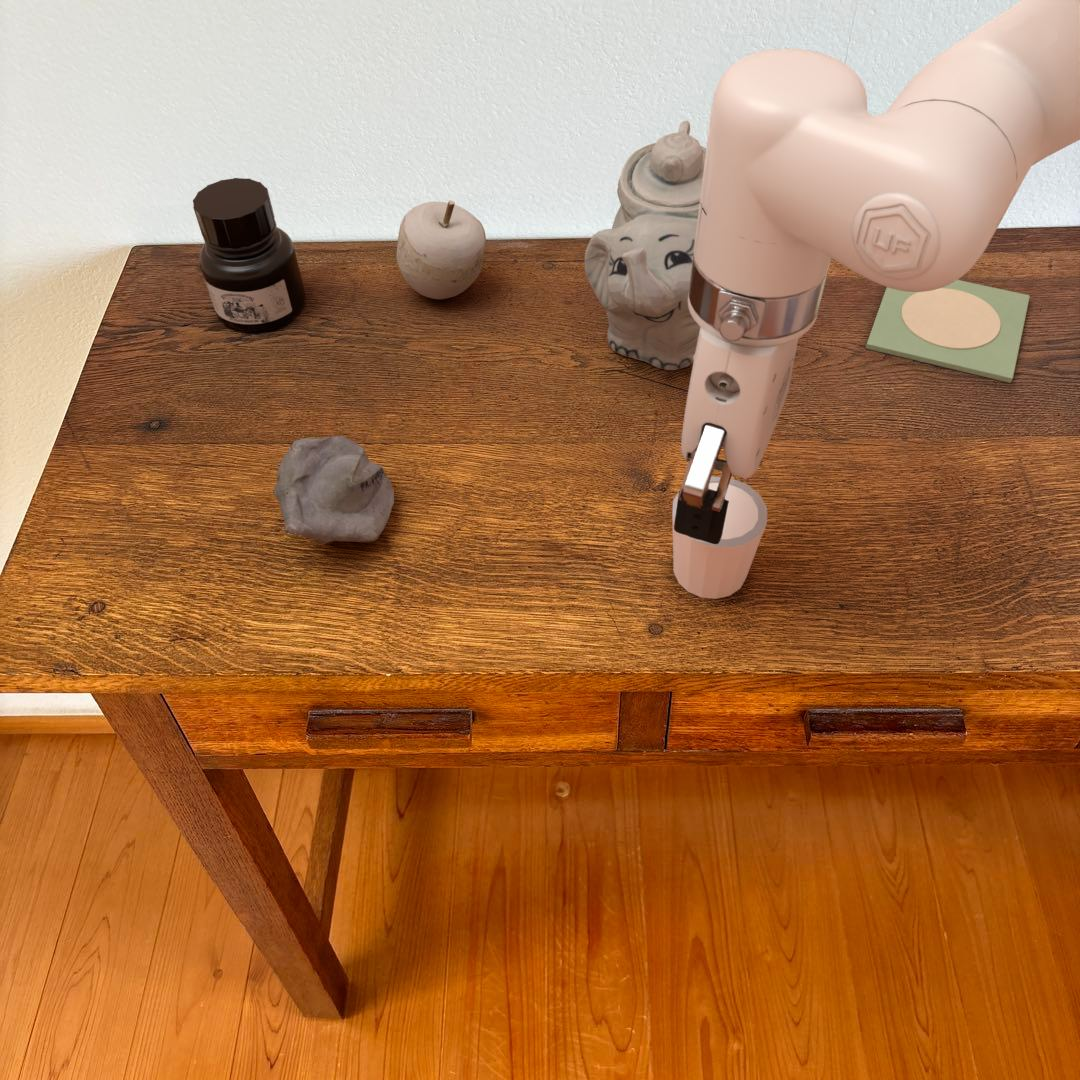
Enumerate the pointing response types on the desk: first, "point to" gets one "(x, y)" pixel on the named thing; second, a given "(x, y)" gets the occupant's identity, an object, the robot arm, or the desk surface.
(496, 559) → the desk surface
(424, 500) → the desk surface
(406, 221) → the decorative object
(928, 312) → the mat
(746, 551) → the shot glass
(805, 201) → the robot arm
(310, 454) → the fossil
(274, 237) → the ink bottle
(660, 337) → the teapot
